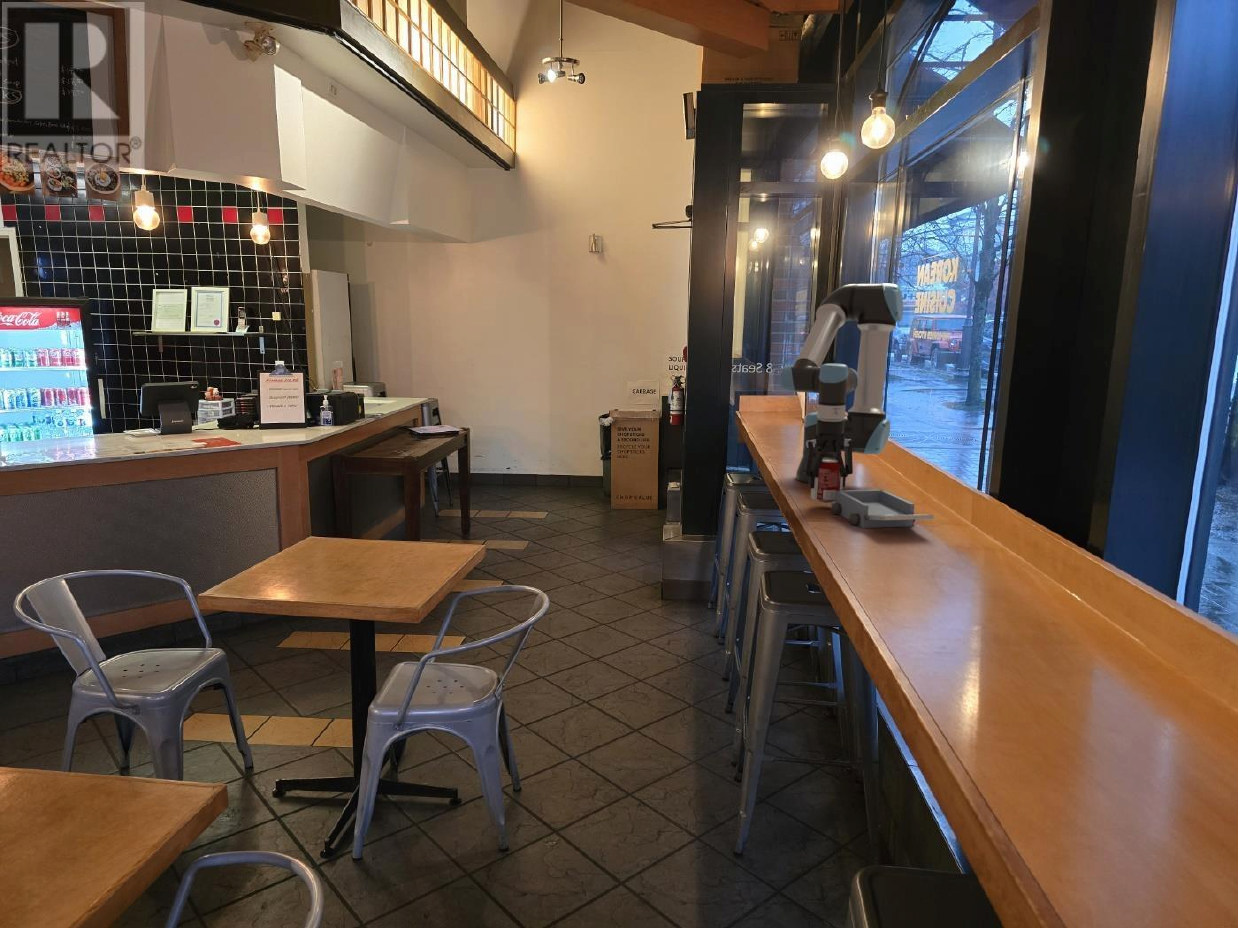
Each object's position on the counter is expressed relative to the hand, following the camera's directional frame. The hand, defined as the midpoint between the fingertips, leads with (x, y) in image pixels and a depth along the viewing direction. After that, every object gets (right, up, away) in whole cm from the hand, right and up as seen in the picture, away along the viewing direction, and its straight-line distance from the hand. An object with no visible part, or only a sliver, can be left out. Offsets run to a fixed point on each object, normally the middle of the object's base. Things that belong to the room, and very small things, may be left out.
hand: (826, 498), depth 212 cm
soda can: (0, -1, 0) cm, 1 cm away
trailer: (+9, -5, -11) cm, 15 cm away
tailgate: (+11, -4, -21) cm, 24 cm away
